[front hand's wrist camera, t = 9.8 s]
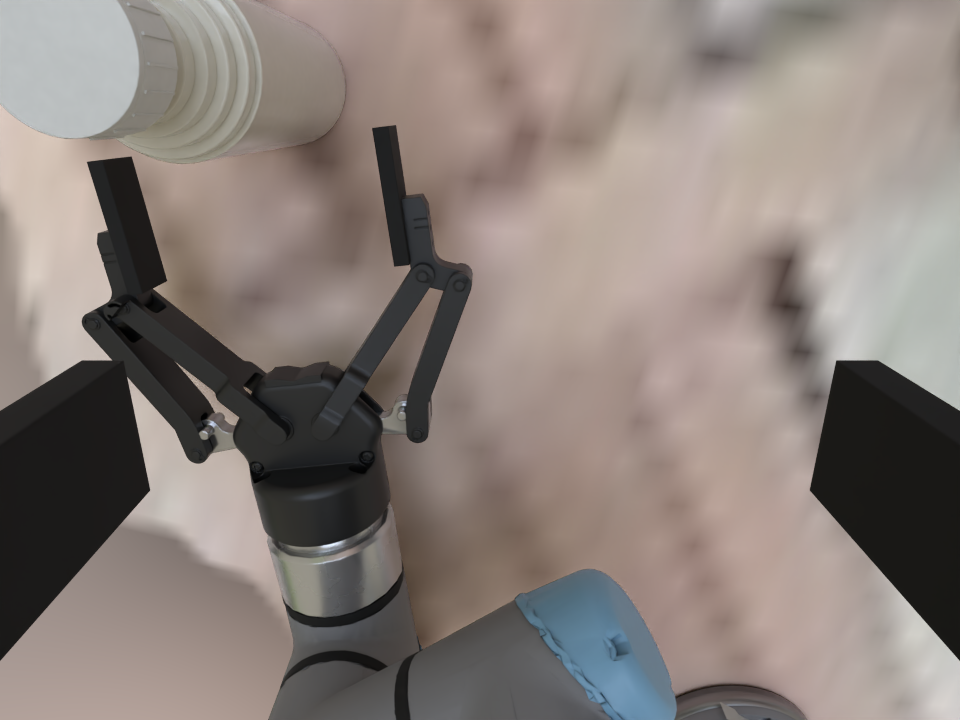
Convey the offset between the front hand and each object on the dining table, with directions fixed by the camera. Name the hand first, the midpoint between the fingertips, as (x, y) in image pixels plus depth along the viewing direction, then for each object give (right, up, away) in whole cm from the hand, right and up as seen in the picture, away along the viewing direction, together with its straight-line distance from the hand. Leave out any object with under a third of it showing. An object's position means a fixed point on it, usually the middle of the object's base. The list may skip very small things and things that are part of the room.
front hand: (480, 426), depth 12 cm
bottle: (-11, +17, +24) cm, 31 cm away
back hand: (-11, +12, +19) cm, 25 cm away
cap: (-11, +9, +5) cm, 15 cm away
